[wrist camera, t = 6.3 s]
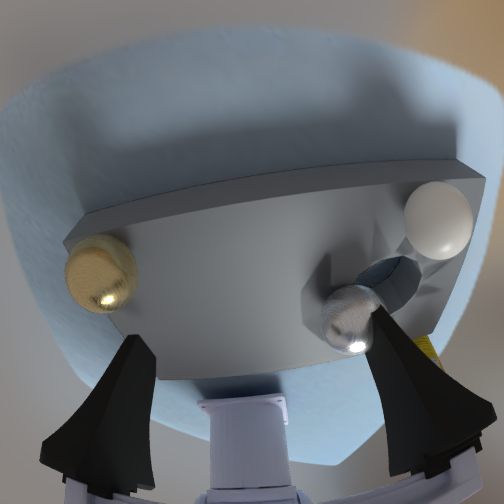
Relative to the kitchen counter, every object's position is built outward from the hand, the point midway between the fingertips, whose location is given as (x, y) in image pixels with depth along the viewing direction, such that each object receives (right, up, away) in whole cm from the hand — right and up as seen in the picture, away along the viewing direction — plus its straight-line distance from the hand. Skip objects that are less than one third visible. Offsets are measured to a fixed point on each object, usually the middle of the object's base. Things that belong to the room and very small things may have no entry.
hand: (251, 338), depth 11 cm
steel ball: (+5, +1, 0) cm, 5 cm away
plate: (+2, +2, +4) cm, 5 cm away
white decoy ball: (+7, +5, -3) cm, 9 cm away
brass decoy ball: (-6, +3, -2) cm, 7 cm away
